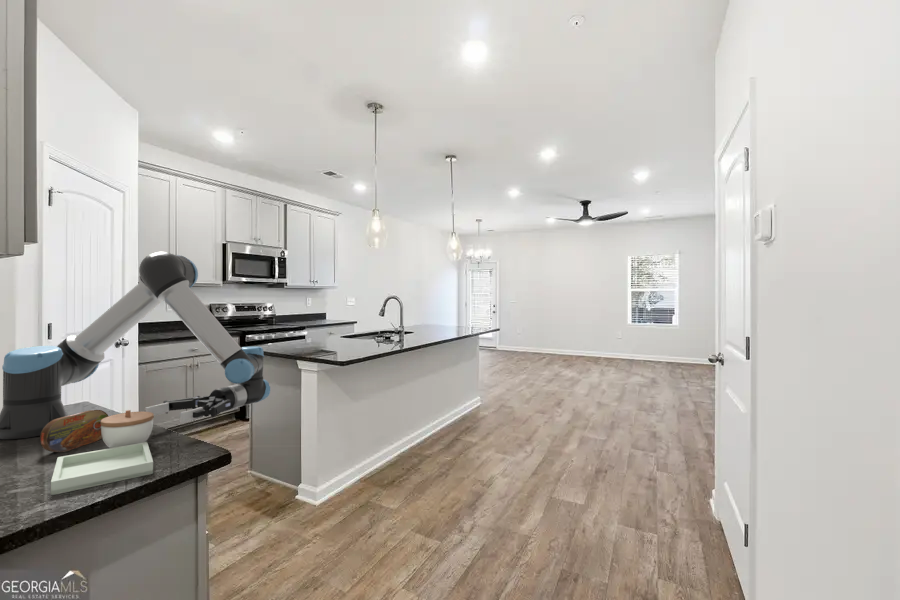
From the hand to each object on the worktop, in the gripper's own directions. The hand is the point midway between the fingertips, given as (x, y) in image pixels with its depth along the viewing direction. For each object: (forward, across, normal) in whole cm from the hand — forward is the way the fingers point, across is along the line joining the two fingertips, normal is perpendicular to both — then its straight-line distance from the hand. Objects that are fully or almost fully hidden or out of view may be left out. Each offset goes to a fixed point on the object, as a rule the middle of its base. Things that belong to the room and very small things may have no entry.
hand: (162, 415), depth 113 cm
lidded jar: (+9, 0, -6) cm, 11 cm away
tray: (+20, -11, -6) cm, 24 cm away
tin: (+13, +13, -6) cm, 19 cm away
